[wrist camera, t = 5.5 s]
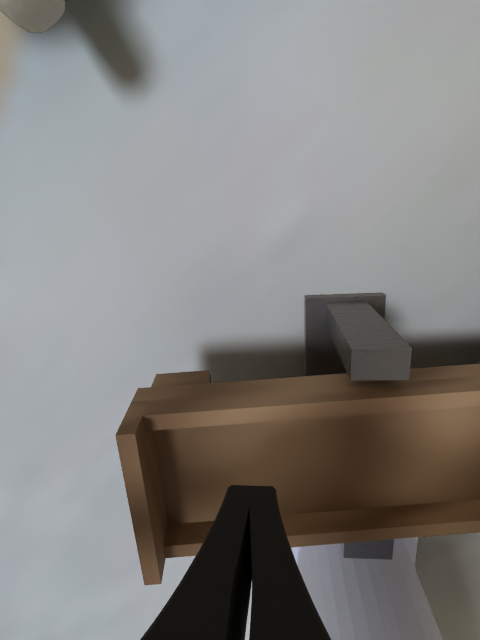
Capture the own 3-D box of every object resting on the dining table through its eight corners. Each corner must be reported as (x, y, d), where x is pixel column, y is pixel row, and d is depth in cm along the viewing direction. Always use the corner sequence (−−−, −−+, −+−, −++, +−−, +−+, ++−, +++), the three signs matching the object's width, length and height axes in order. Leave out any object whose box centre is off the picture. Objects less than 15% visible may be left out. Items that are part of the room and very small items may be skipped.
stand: (382, 292, 19) (443, 341, 12) (372, 453, 22) (416, 564, 15) (304, 295, 19) (322, 344, 12) (305, 453, 22) (319, 560, 15)
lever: (629, 73, 13) (861, -4, 8) (539, 454, 18) (652, 542, 13) (108, 102, 13) (38, 39, 8) (166, 483, 18) (144, 584, 13)
